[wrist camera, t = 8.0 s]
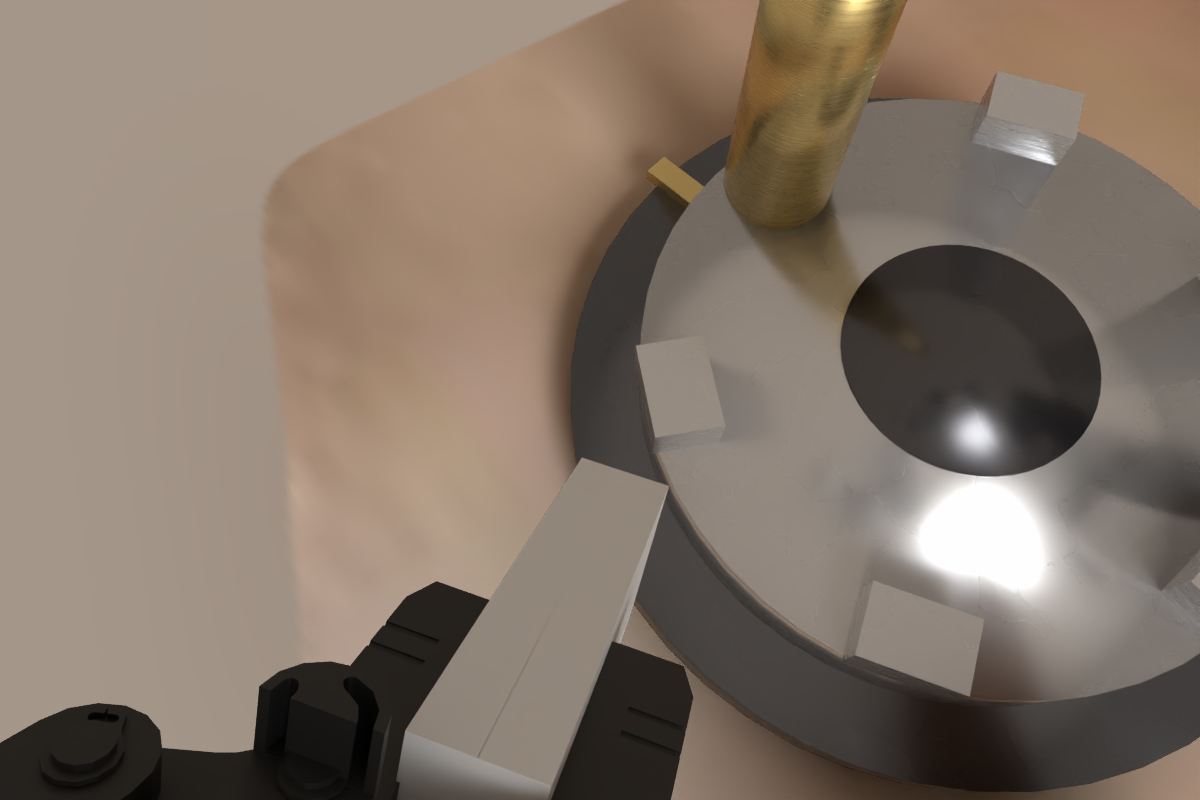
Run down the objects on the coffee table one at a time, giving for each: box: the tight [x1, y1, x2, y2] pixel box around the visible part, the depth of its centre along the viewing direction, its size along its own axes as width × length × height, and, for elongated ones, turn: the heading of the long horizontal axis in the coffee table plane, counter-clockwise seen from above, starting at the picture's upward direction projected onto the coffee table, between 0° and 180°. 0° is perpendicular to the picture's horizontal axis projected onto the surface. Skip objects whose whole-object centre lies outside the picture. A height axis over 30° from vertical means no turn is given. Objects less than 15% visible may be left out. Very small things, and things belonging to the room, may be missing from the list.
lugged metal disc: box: [634, 0, 1200, 707], centre depth 20 cm, size 18×18×12 cm
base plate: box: [571, 99, 1200, 792], centre depth 27 cm, size 22×22×2 cm
